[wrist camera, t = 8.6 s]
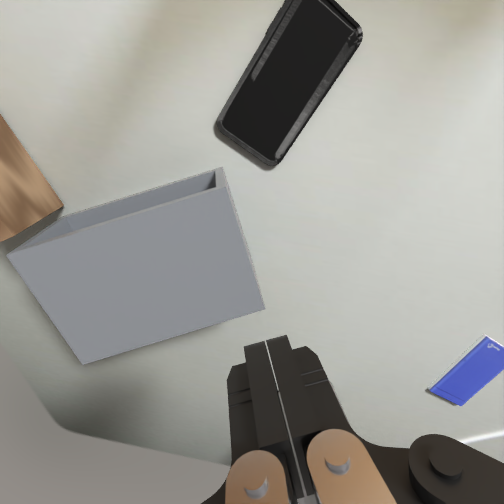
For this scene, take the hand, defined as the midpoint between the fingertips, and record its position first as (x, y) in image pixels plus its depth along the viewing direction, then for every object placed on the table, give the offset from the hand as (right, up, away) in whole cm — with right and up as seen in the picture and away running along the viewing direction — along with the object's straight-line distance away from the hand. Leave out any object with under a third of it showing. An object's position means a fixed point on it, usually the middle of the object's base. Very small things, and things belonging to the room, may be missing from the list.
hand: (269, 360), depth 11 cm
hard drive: (+35, -15, +41) cm, 56 cm away
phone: (+3, +21, +20) cm, 29 cm away
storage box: (-11, +5, +25) cm, 28 cm away
